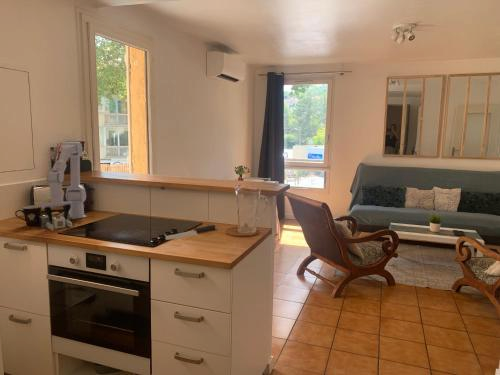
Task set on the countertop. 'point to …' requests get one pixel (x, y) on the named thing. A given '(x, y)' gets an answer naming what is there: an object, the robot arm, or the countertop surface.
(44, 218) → the block
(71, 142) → the robot arm
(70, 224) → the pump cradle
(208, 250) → the countertop surface
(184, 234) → the kitchen knife
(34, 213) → the coffee mug
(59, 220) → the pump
